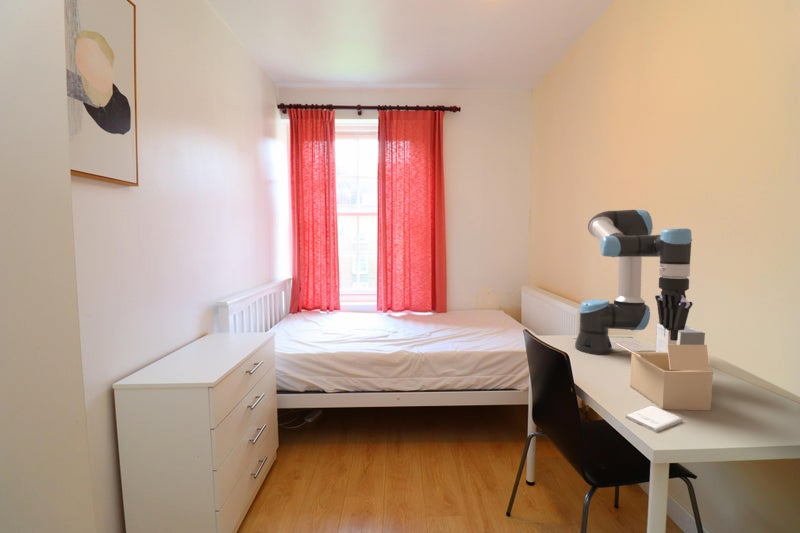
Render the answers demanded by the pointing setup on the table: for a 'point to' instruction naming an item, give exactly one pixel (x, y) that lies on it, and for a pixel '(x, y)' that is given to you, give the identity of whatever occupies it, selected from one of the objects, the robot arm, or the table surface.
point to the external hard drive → (654, 418)
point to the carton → (670, 383)
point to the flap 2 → (688, 357)
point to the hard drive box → (679, 337)
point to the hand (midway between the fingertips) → (670, 349)
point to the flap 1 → (637, 355)
